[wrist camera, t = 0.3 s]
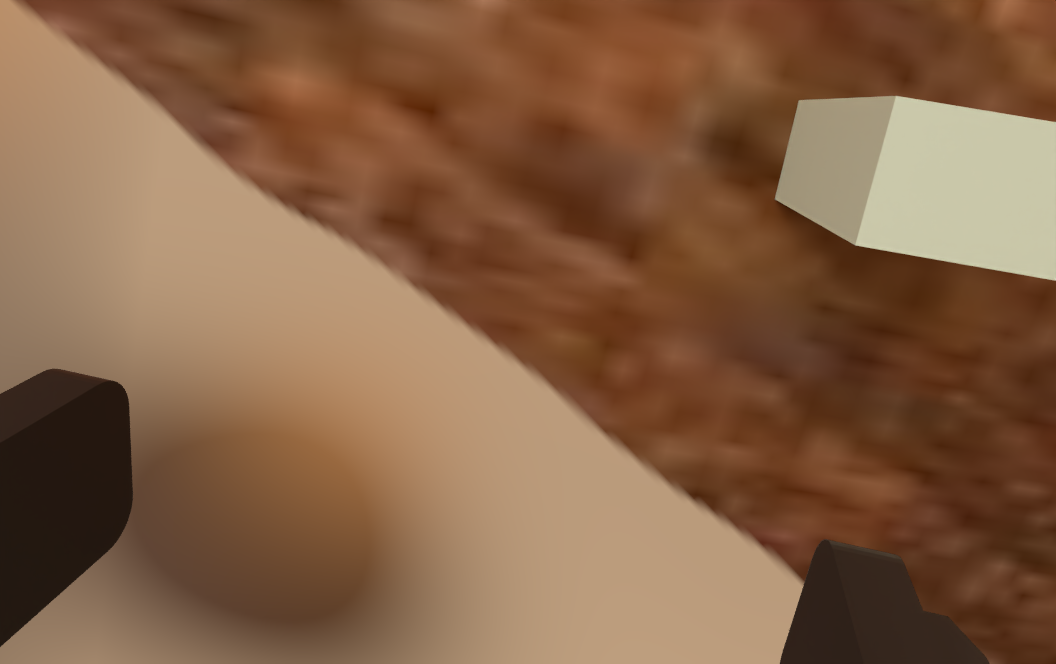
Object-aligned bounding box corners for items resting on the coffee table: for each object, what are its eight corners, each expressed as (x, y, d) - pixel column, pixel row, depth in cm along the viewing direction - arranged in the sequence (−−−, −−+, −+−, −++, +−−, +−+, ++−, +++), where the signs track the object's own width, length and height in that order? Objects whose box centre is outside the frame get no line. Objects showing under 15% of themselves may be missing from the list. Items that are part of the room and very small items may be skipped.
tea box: (798, 100, 33) (896, 96, 22) (937, 123, 33) (1110, 131, 21) (774, 201, 34) (854, 248, 23) (908, 224, 34) (1057, 283, 22)
